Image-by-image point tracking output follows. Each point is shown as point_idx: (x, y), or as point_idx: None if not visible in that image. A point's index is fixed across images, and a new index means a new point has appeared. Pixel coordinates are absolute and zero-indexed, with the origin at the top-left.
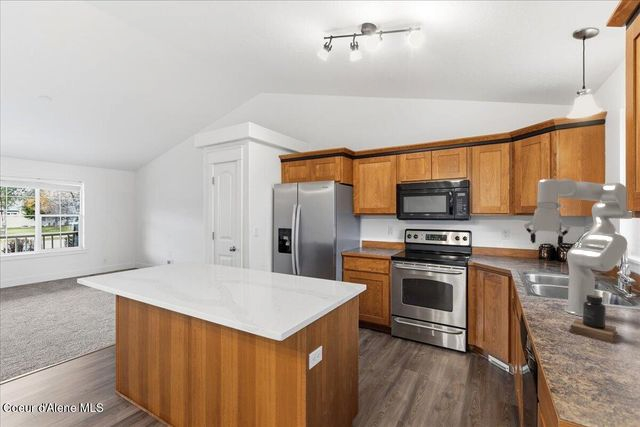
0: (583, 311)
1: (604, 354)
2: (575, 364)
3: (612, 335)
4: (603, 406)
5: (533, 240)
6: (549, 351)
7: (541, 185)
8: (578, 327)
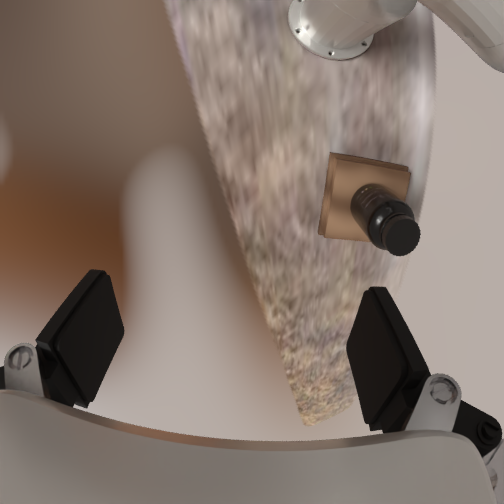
0: (360, 225)
1: None
2: (321, 360)
3: None
4: (333, 406)
5: (113, 350)
6: (290, 347)
7: None
8: (339, 238)
